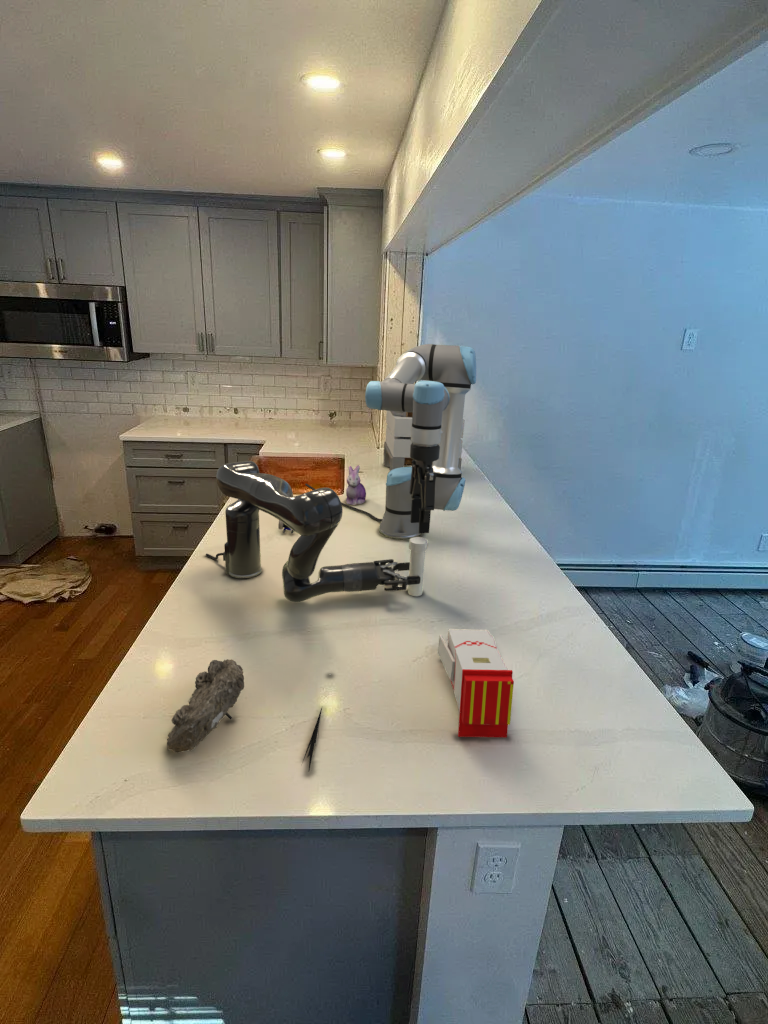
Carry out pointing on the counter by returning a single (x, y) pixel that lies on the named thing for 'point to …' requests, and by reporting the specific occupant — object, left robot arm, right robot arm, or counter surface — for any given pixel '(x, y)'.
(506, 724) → the toy
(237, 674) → the fossil
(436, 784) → the counter surface
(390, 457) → the white slatted crate
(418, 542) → the lid
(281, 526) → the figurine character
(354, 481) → the figurine
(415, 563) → the white long cylinder
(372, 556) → the counter surface
